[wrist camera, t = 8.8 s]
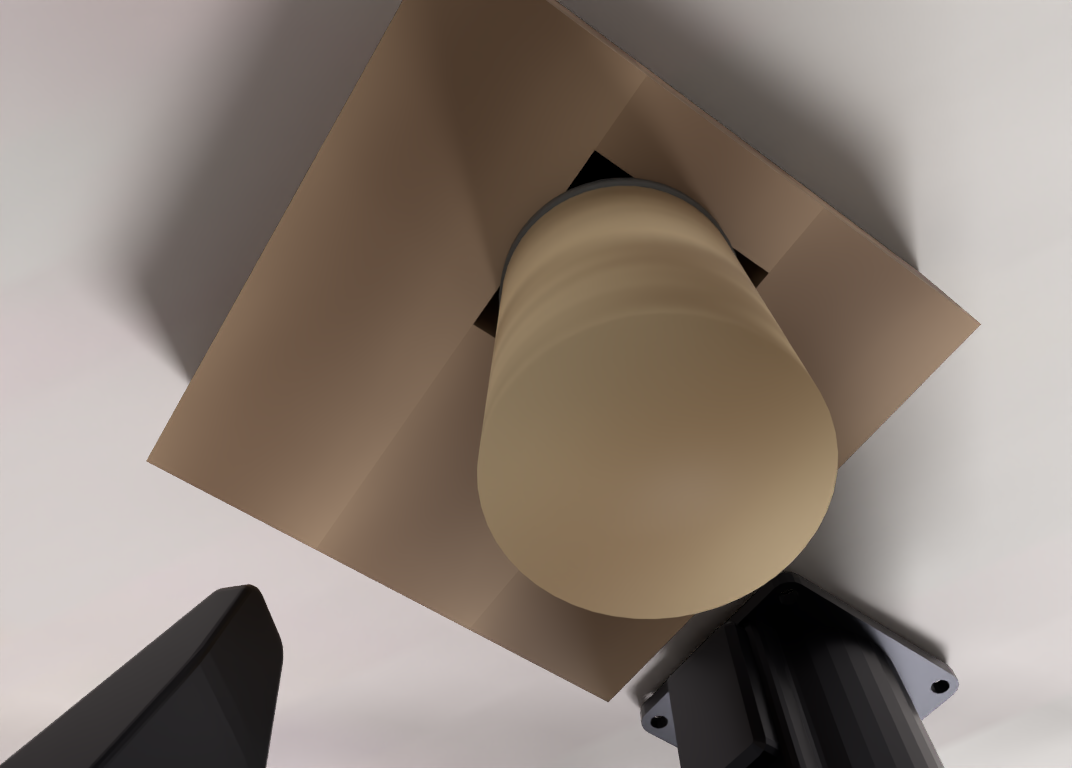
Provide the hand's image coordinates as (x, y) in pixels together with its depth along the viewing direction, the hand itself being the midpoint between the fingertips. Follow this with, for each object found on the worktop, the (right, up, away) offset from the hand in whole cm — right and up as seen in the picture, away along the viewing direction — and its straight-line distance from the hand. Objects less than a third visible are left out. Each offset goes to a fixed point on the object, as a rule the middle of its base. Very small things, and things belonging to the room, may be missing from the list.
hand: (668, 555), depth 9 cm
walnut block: (-1, +3, +11) cm, 11 cm away
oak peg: (0, +5, +10) cm, 11 cm away
